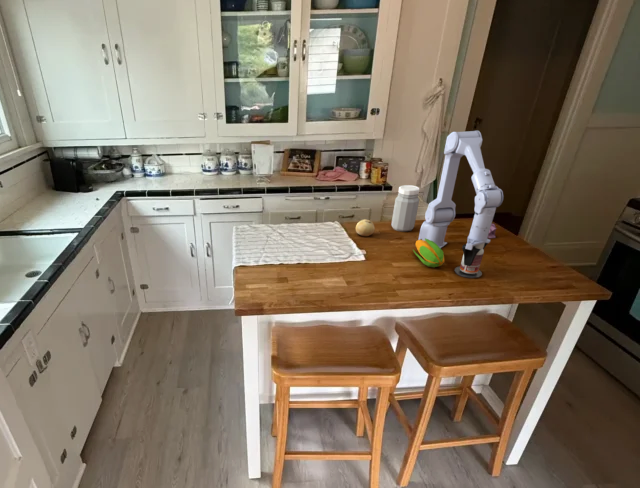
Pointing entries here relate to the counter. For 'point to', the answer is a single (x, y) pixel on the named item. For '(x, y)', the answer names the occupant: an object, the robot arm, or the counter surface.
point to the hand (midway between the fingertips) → (470, 262)
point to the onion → (365, 227)
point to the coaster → (460, 273)
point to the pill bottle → (476, 262)
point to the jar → (405, 208)
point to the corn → (430, 253)
